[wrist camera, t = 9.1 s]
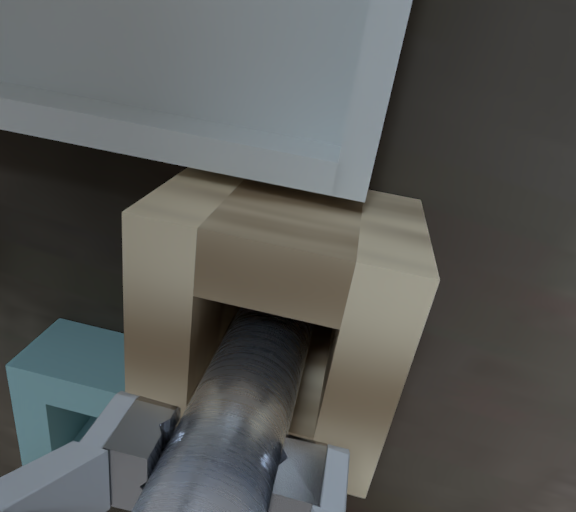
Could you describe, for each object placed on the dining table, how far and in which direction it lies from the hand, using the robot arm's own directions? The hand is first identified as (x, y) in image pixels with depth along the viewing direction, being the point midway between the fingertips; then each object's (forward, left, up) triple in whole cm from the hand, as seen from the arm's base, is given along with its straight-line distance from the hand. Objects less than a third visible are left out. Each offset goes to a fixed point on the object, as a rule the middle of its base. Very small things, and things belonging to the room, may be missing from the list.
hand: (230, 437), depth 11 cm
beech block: (0, 0, -8) cm, 8 cm away
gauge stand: (+8, -7, -8) cm, 14 cm away
